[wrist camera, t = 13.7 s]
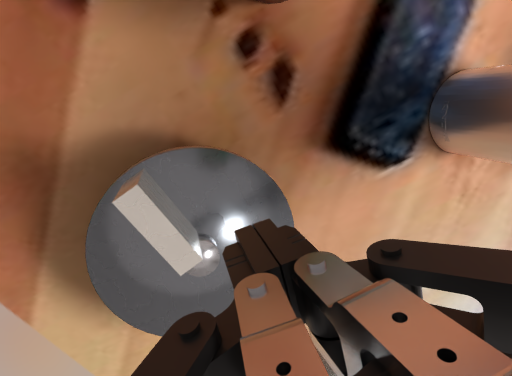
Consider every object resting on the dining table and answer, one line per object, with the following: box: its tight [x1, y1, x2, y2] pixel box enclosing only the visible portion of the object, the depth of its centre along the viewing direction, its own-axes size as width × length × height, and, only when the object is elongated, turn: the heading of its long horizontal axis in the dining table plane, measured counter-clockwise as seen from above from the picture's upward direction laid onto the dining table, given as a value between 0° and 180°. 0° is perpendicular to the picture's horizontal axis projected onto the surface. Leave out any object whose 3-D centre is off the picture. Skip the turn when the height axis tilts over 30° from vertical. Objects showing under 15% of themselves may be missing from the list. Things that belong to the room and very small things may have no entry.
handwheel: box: [86, 146, 294, 336], centre depth 24 cm, size 17×17×7 cm
